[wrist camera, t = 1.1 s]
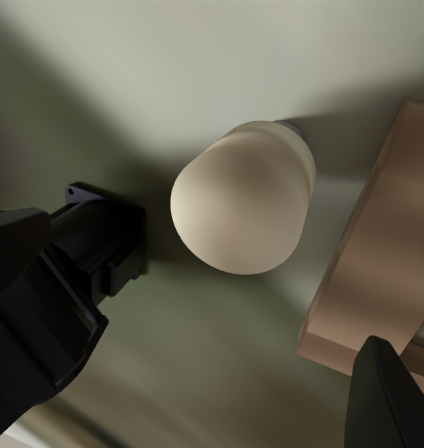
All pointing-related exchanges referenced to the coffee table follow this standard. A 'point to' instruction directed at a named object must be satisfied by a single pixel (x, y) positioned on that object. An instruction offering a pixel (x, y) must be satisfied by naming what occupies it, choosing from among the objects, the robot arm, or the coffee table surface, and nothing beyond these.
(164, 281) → the coffee table surface
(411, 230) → the keyhole board
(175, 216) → the peg
